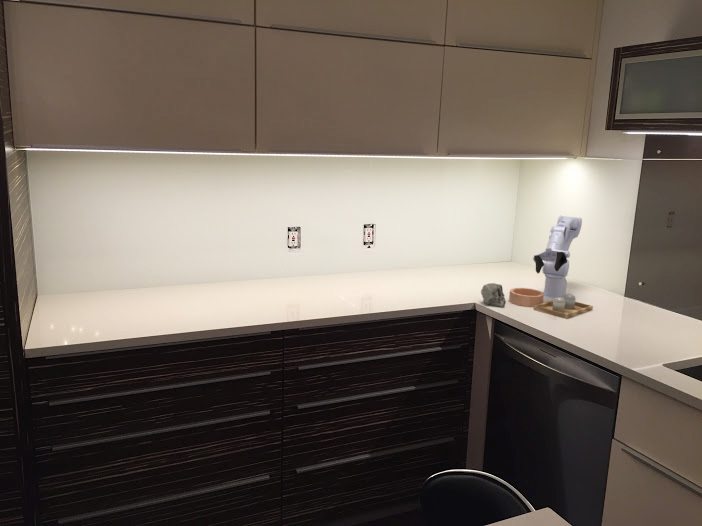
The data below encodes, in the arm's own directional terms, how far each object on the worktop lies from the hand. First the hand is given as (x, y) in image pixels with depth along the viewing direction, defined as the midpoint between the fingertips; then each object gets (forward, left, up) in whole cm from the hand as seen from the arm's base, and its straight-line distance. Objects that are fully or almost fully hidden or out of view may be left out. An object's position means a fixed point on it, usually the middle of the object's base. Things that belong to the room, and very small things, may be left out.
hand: (546, 270), depth 238 cm
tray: (-4, +7, -16) cm, 17 cm away
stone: (+12, -15, -16) cm, 25 cm away
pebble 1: (0, +7, -15) cm, 17 cm away
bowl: (-1, -8, -16) cm, 18 cm away
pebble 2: (-8, +7, -15) cm, 18 cm away
